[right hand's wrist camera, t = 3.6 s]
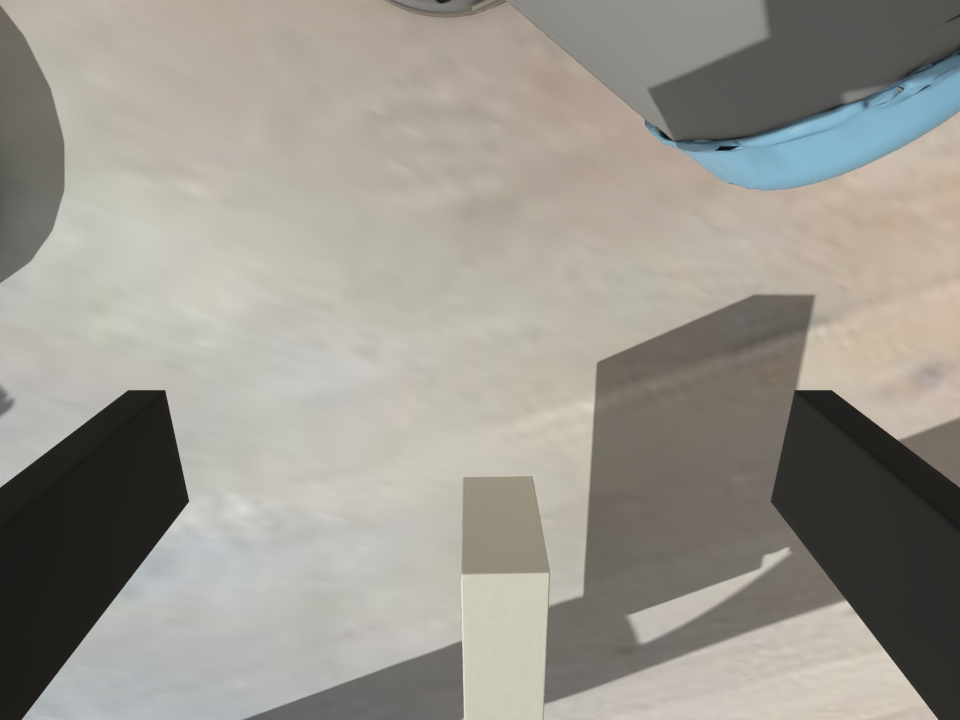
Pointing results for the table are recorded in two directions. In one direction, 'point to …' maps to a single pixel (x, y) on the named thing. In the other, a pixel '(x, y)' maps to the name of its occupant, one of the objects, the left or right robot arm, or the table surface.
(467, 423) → the table surface
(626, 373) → the table surface
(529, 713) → the bar
